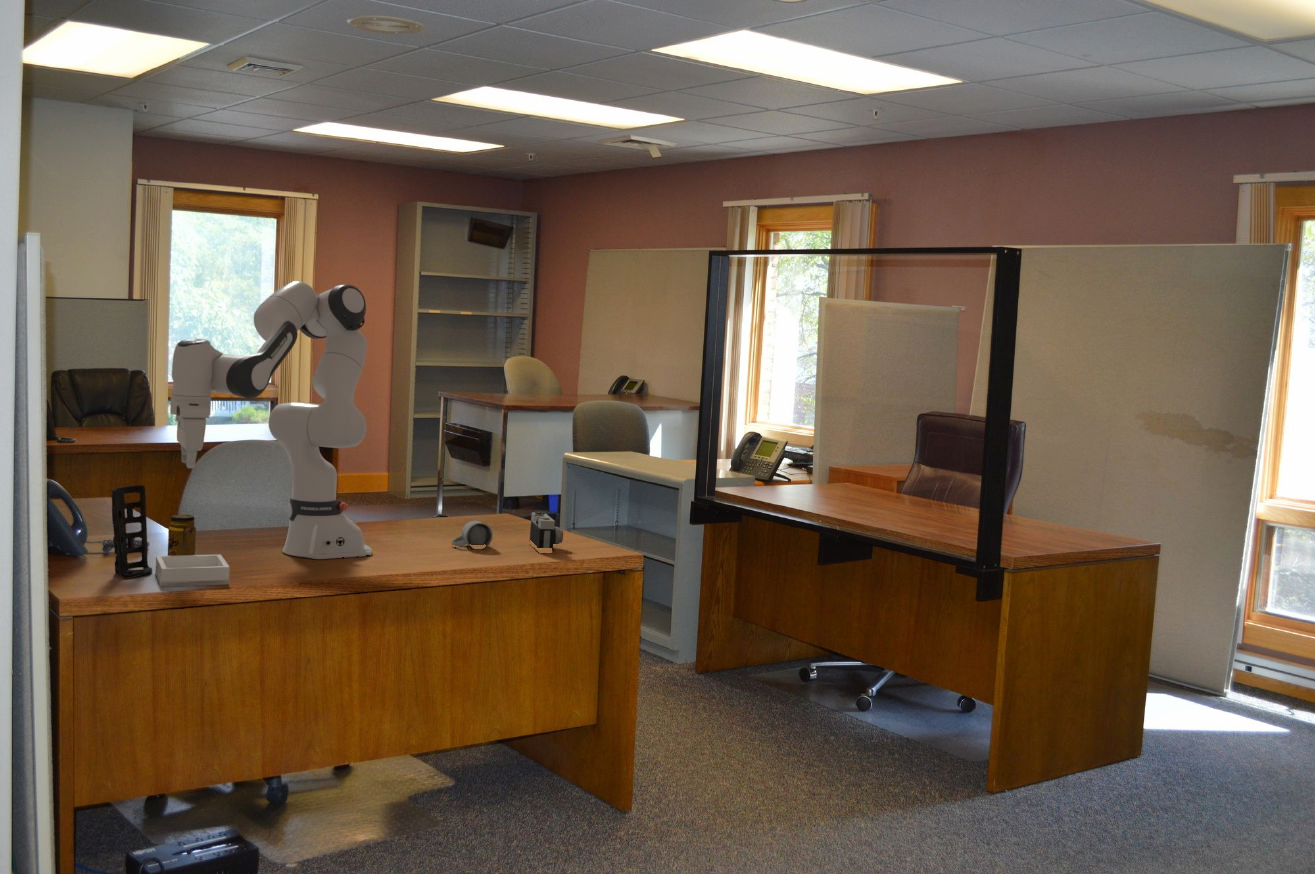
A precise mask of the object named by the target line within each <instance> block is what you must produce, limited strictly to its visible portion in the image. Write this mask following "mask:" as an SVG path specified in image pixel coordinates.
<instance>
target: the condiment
mask: <svg viewBox="0 0 1315 874" xmlns="http://www.w3.org/2000/svg"><path fill="white" fill-rule="evenodd" d="M195 519H196V518H195V517H194V515H191V514H173V515H172V516H170V523H169V524H170V526H169V527H168V533H167V534H168V535H167V537H168V540H167V556H178V555H196V540H197V539H196V536H197V534H196V532H197V528H196V527H195Z"/></svg>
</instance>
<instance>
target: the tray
mask: <svg viewBox="0 0 1315 874" xmlns="http://www.w3.org/2000/svg"><path fill="white" fill-rule="evenodd" d="M230 570H231V569H230V565H229V564H228V562H227V561H226V560H225V558H224V557H223V555H222V554H195V555H178V556H168V555H156V556H155V575H156V577H157V580H158V583H159V584H160V587H161V588H163V587H165V588H168V587H190V586H191V587H193V586H195V587H196V586H222V585H223V586H225V585H229V583H230Z"/></svg>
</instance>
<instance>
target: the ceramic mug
mask: <svg viewBox="0 0 1315 874" xmlns="http://www.w3.org/2000/svg"><path fill="white" fill-rule="evenodd" d="M493 535H494V534H493V531H492V528H491V527H490V525H488V524H487V523H484V522H481V521H479V520H471V521H468V522H467V523H466V524H464V526H463V527H462V530H461V535H460V536H459V537H456V538H455V539H453V540H452V541H451V545H455V546H461V547H464V546H466V545H467V546H468V547H469V546H470V544H471V545H484V544H485V545H486V546H488V547H489V546H490V544H491V543H492V540H493Z"/></svg>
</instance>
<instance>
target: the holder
mask: <svg viewBox="0 0 1315 874" xmlns="http://www.w3.org/2000/svg"><path fill="white" fill-rule="evenodd" d="M110 492H111V494H110V498H111V513H112V514H111V517H112V519H111V520H112V521H111V522H112V525H113V526H112V527H113V537H112V538H113V547H114V554H115V556H114V557H115V558H114V559H115V561H114V573H115V574H116V575H117V576H120V577H122V579H123V580H126V579H127V580H128V579H132V578H134V577H135V578H136V577H139V576H140V577H141V576H143V575H147V574H150V573H152V571H153V568H152V567H150V566H149V563H148V562H149V561H148V529H147V524H148V523H147V501H146V500H147V498H146V497H147V496H146V486H145V485H142V484H140V485H129V486H122V487H118V488H117V487H116V488H113V489H110ZM132 493H133V494H134V493H137V494H139V500H138V501H134V502H125V494H132ZM134 508H139V510H140V515H139V516H134ZM137 523H139V524H140V530H139V531H135V532H134V531H133V532H127V525H128V524H137ZM135 538H140V539H141V544H140V545H139V546H136V545H135ZM133 553H141V559H140V560H139V561H133V562H132V561H131V562H128V554H133ZM138 568H139V569H138ZM140 568H142V569H140Z"/></svg>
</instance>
